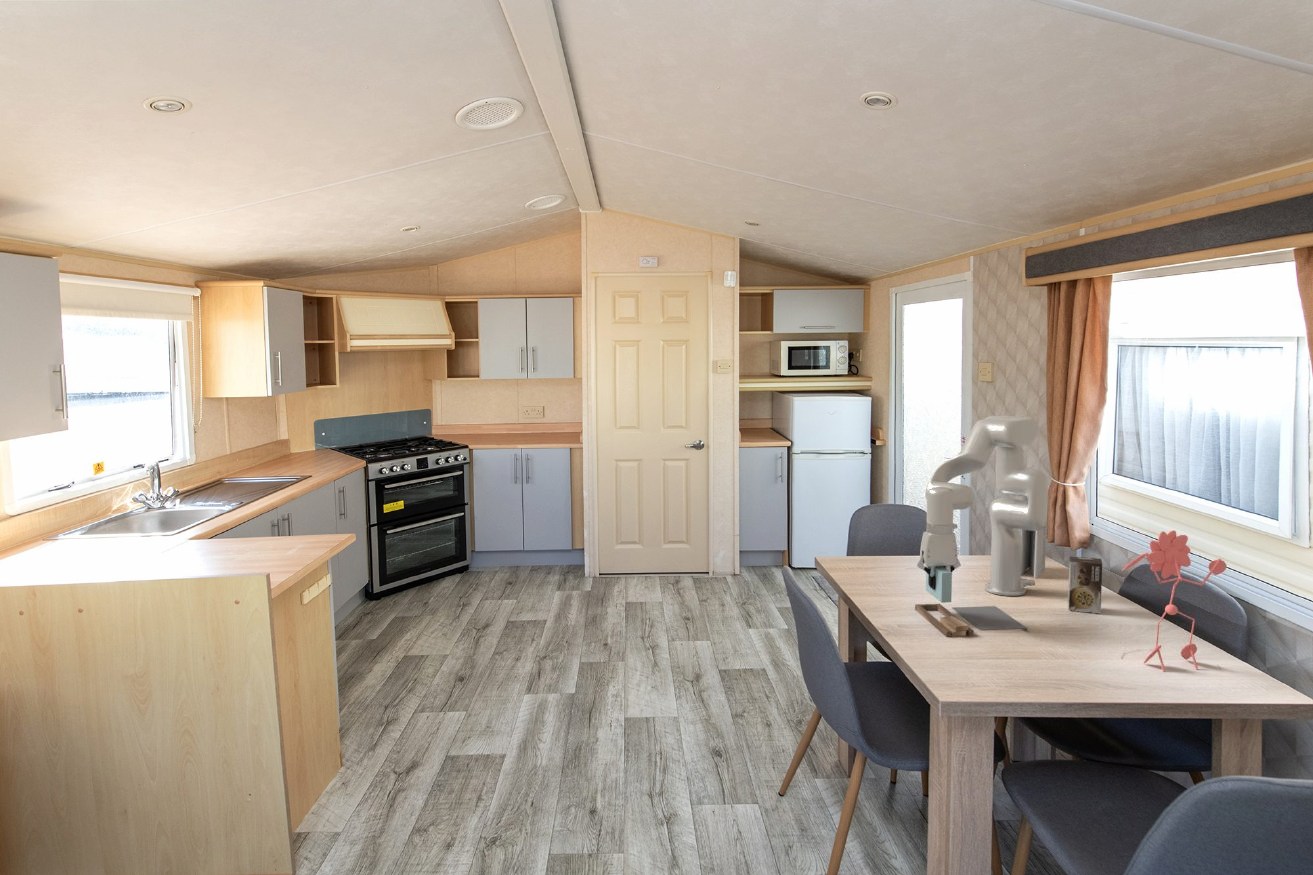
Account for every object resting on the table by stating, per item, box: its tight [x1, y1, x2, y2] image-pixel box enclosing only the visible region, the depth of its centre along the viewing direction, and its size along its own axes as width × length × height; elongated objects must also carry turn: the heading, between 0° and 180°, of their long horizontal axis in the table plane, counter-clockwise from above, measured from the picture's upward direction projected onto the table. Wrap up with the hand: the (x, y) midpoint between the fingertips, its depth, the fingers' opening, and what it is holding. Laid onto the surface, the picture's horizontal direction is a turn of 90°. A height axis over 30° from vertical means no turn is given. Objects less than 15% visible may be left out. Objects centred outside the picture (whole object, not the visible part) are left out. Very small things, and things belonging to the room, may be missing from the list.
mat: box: [951, 605, 1028, 632], centre depth 248 cm, size 14×20×1 cm
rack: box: [914, 603, 975, 638], centre depth 245 cm, size 8×24×2 cm, turn 3°
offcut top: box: [939, 616, 969, 632], centre depth 237 cm, size 4×8×2 cm, turn 12°
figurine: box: [1121, 530, 1227, 672], centre depth 215 cm, size 15×26×35 cm, turn 96°
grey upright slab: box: [1020, 488, 1050, 579], centre depth 297 cm, size 14×6×30 cm, turn 143°
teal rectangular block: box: [925, 565, 953, 604], centre depth 249 cm, size 3×12×9 cm, turn 3°
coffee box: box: [1067, 555, 1104, 615], centre depth 256 cm, size 9×6×16 cm
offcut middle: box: [944, 625, 967, 638], centre depth 238 cm, size 4×8×2 cm, turn 8°
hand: (938, 587), depth 249 cm, fingers closed on teal rectangular block, 3 cm apart
